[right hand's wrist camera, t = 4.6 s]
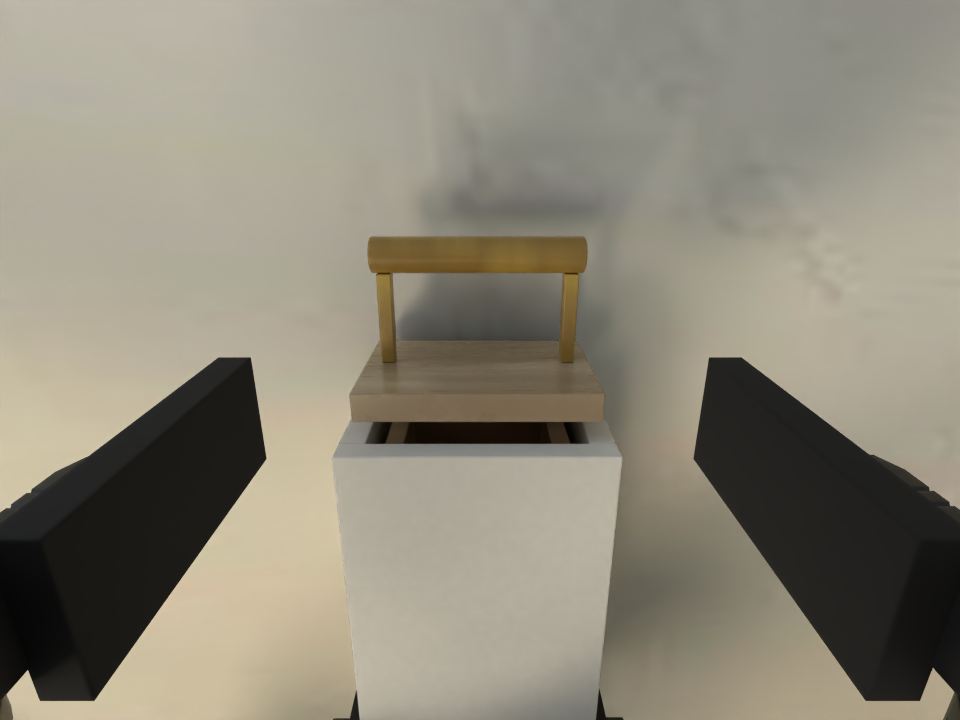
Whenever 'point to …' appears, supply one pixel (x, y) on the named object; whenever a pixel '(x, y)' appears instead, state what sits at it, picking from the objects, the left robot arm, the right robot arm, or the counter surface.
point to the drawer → (477, 353)
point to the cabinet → (477, 573)
